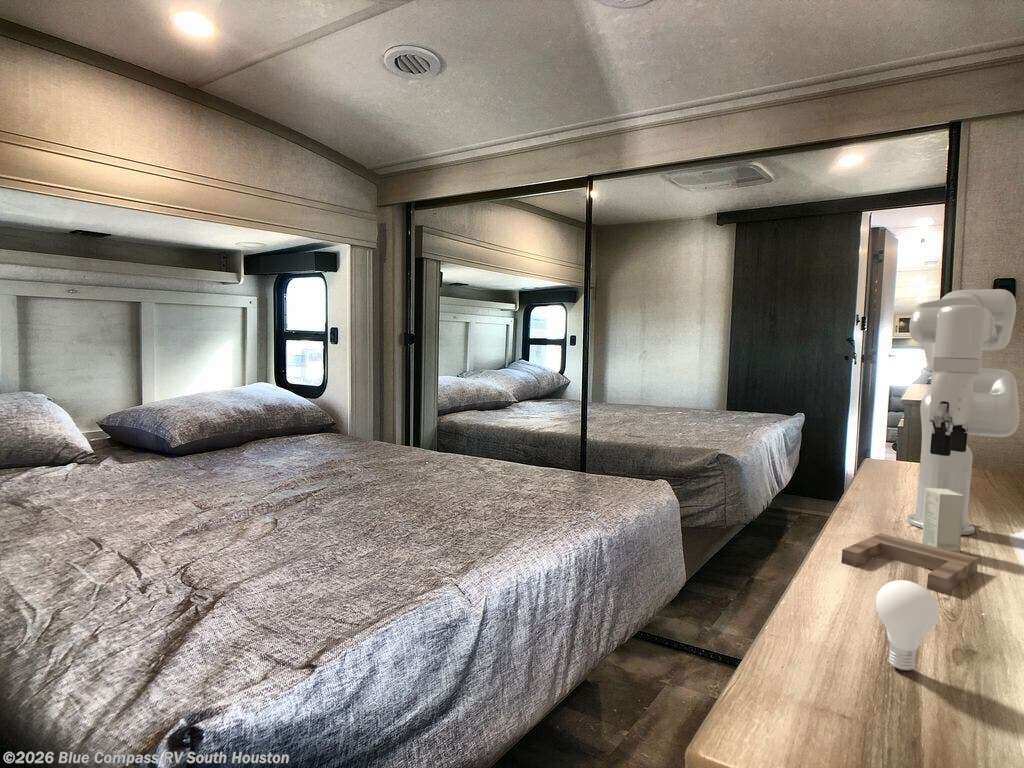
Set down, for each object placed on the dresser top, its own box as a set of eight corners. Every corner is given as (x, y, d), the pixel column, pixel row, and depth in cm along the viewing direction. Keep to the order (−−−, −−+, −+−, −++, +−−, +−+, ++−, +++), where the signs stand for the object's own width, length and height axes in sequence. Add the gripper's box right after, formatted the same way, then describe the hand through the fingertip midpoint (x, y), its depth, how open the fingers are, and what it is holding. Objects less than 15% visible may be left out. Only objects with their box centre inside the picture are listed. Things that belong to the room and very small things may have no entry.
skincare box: (960, 556, 113) (966, 495, 112) (934, 554, 114) (940, 493, 113) (943, 546, 119) (948, 488, 119) (919, 543, 120) (924, 486, 119)
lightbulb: (858, 655, 74) (865, 571, 73) (905, 655, 74) (912, 571, 73) (895, 684, 67) (904, 593, 67) (946, 684, 68) (955, 593, 67)
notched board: (879, 545, 118) (880, 533, 118) (976, 571, 106) (978, 557, 105) (841, 562, 107) (842, 549, 107) (944, 593, 95) (946, 579, 94)
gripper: (947, 367, 123) (940, 446, 124) (918, 366, 112) (910, 453, 113) (992, 369, 117) (984, 452, 118) (966, 368, 106) (957, 460, 107)
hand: (948, 452), depth 115 cm, fingers open, 9 cm apart
